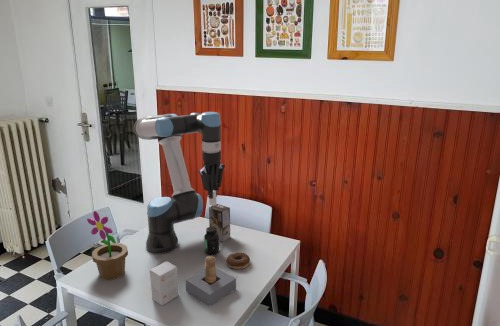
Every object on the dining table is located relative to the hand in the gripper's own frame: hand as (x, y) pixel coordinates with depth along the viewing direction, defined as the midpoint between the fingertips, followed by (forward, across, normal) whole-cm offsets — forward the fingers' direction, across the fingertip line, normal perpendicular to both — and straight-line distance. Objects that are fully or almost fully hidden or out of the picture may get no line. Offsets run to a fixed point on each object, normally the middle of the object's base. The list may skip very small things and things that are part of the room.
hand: (212, 204), depth 162 cm
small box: (+29, -29, -3) cm, 41 cm away
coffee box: (+29, +19, +16) cm, 38 cm away
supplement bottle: (+29, +6, +8) cm, 30 cm away
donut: (+29, +7, -8) cm, 31 cm away
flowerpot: (+29, -34, +27) cm, 52 cm away
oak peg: (+28, -14, -13) cm, 34 cm away
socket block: (+28, -14, -13) cm, 34 cm away
